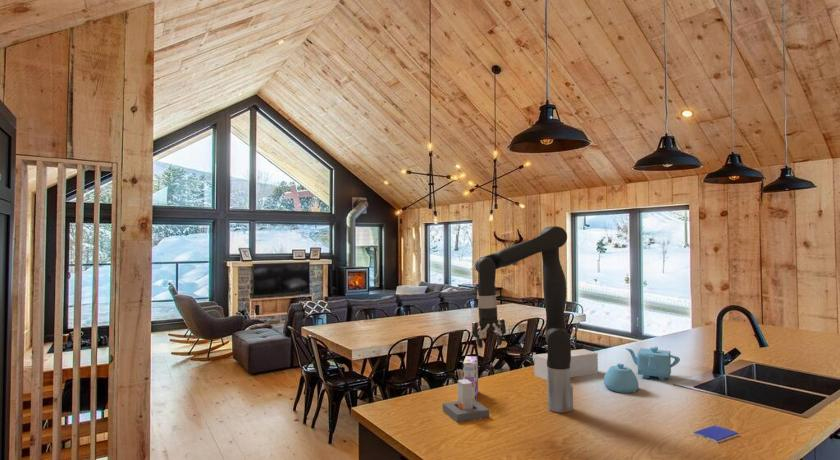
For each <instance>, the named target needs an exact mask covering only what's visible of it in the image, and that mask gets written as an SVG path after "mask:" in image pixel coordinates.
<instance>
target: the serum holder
mask: <svg viewBox="0 0 840 460" xmlns="http://www.w3.org/2000/svg"><path fill="white" fill-rule="evenodd" d="M472 400H473V409H471V410H464V411H461V410H460V409H459V408H458V400H456V401H450V402H449V401H448V402H442V411H443V412H444V413H445V414H446V415H447V414H448V416H449V418H451V419H452V420H453V421H454V422H456V423H464V422H469V421H468V420H470V421H475V420H474V419H476V420H481V419H480V418H482V419H487V418H486V417H489V418H490V409H489V408H487V406H484V405H483V404H482V403H480V402H478V401H477V399H476V400H474V399H472ZM463 421H464V422H463Z"/></svg>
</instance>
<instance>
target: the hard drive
mask: <svg viewBox="0 0 840 460" xmlns="http://www.w3.org/2000/svg"><path fill="white" fill-rule="evenodd" d="M693 435H694V436H697V437H699V438H703V439H706V440H708V441H711V442H714V443H716V444H718V443H721V442H724V441H726V440H730V439H732V438H735V437H738V436H739V433H738V432H737V431H734V430H732V429H729V428H726V427H722V426H719V425H717V424H714V425H710V426H708V427H705V428H702V429H698V430H696V431H693Z"/></svg>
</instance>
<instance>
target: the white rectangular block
mask: <svg viewBox="0 0 840 460" xmlns="http://www.w3.org/2000/svg"><path fill="white" fill-rule="evenodd" d="M598 355H599V354H598V352H595V351H591V350H588V349H585V348H582V349H573V350H572V349H571V362H570V378H574V377H583V376H589V375H597V374H599V367H598V366H599V361H598ZM547 357H548V352H547V353H539V354H534V355H533V361H534V362H533V363H534V365H533V367H534V376H535V377H538V378H540V379H543V380H545V381H547Z"/></svg>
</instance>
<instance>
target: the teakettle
mask: <svg viewBox="0 0 840 460" xmlns="http://www.w3.org/2000/svg"><path fill="white" fill-rule="evenodd" d="M624 349H625V350H626V351H628V352H629V353H630V355H631V358H632V361H633V363H634V364H635V365H637V374H638V376H639V375H641V376H642V378H643V379H645V380H647V379H650V377H657V378H658V380H659V381H660V382H661V381H662V382H664V381H666V379H670V377H671V374H672V368H673V367H675V366H677V365H678V364H679V363H680V361H681V358H680V357H679V356H677V355H672V354H671V350H663V349H659V347H658V346H653V347H650V348H640V349H639V350H638V351H637V353H636V354H637V355H636V354H635V351H634V350H633V349H631V348H624ZM671 359H674V361H673V362H672V361H671ZM671 362H672V363H671Z"/></svg>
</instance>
